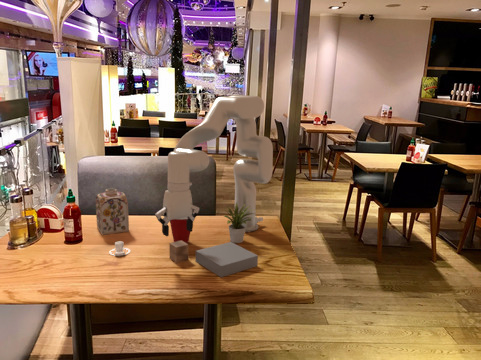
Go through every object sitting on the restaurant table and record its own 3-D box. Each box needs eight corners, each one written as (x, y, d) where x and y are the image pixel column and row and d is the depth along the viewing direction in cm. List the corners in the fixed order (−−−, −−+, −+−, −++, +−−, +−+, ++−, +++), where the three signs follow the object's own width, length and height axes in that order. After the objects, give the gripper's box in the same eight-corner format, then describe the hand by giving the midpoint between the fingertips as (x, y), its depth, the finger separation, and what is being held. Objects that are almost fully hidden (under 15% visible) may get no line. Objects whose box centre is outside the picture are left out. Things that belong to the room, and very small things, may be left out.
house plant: (240, 251, 158) (241, 210, 155) (212, 243, 166) (212, 204, 162) (259, 240, 170) (260, 203, 166) (232, 233, 177) (233, 197, 174)
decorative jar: (96, 227, 180) (94, 187, 177) (123, 223, 186) (121, 185, 182) (101, 235, 170) (99, 194, 166) (129, 231, 176) (128, 191, 172)
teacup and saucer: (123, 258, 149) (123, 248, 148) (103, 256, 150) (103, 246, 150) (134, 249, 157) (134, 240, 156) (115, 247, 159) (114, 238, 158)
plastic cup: (194, 237, 171) (194, 210, 169) (194, 247, 161) (194, 218, 158) (168, 237, 170) (168, 210, 167) (166, 247, 160) (166, 218, 157)
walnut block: (181, 255, 153) (181, 240, 151) (188, 259, 149) (188, 244, 148) (169, 258, 150) (169, 243, 148) (176, 263, 146) (176, 247, 145)
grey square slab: (230, 251, 158) (230, 241, 157) (257, 266, 145) (257, 255, 144) (195, 261, 148) (195, 250, 147) (220, 277, 136) (221, 266, 135)
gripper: (193, 182, 151) (192, 226, 155) (151, 187, 141) (151, 234, 144) (204, 186, 146) (203, 231, 149) (161, 191, 135) (160, 240, 138)
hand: (177, 232), depth 147 cm, fingers open, 9 cm apart
